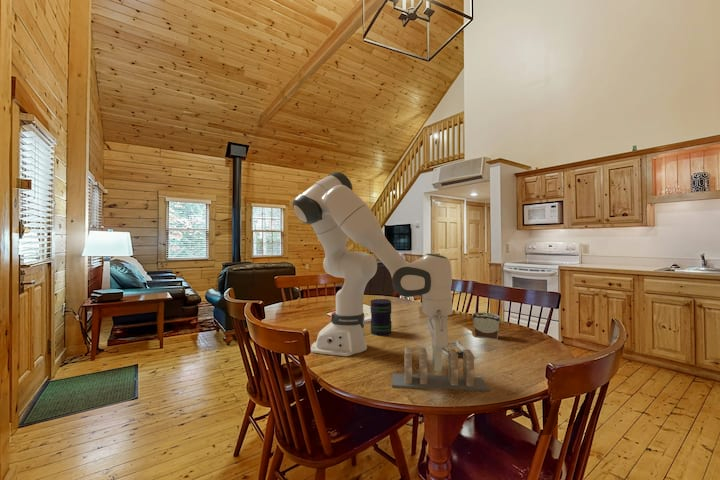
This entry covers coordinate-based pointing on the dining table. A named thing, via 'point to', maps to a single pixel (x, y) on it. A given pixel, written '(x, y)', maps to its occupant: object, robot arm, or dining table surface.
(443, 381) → the domino mat
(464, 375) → the domino
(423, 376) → the domino
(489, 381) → the dining table surface
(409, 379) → the domino
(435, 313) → the robot arm
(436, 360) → the sage domino
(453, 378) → the domino
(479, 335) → the food container
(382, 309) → the storage jar
